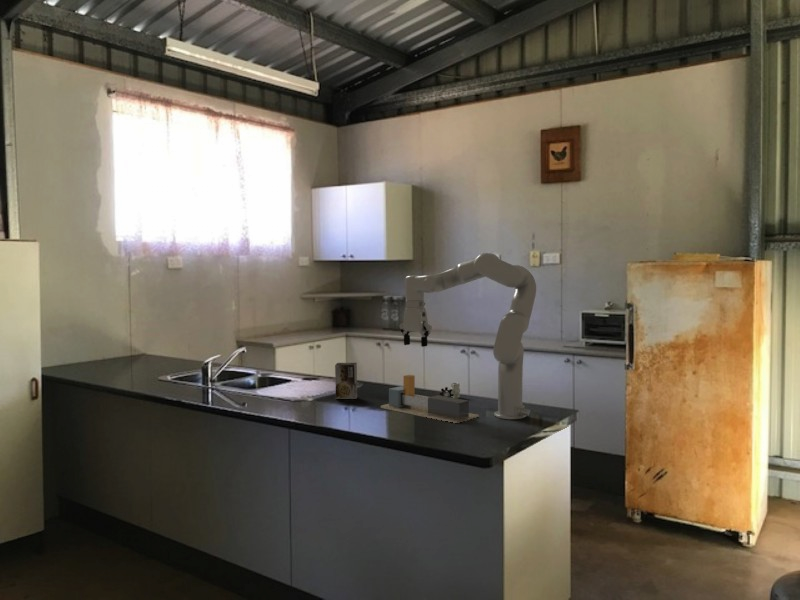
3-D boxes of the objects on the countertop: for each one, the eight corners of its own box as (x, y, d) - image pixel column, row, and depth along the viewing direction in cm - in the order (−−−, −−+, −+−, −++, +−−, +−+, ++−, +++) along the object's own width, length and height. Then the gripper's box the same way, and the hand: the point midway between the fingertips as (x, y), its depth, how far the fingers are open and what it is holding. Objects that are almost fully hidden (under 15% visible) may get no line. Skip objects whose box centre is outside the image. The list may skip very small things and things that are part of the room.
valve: (450, 396, 295) (439, 401, 285) (450, 382, 295) (439, 386, 284) (464, 397, 292) (452, 402, 281) (463, 383, 291) (452, 387, 281)
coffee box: (357, 397, 294) (357, 362, 293) (355, 400, 287) (354, 364, 286) (338, 397, 294) (337, 362, 294) (335, 400, 288) (334, 364, 287)
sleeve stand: (478, 417, 254) (478, 399, 253) (456, 423, 243) (456, 405, 243) (403, 402, 282) (403, 386, 281) (380, 407, 272) (380, 391, 271)
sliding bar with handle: (443, 409, 259) (443, 379, 259) (437, 410, 257) (436, 381, 256) (402, 401, 275) (401, 373, 275) (395, 402, 272) (395, 374, 272)
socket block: (411, 403, 274) (411, 387, 274) (398, 407, 269) (398, 390, 268) (401, 402, 278) (401, 386, 278) (389, 405, 272) (388, 388, 272)
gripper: (436, 304, 265) (437, 346, 266) (405, 303, 277) (406, 343, 277) (424, 305, 259) (425, 347, 260) (393, 304, 271) (394, 345, 272)
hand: (415, 345), depth 269 cm, fingers open, 9 cm apart
